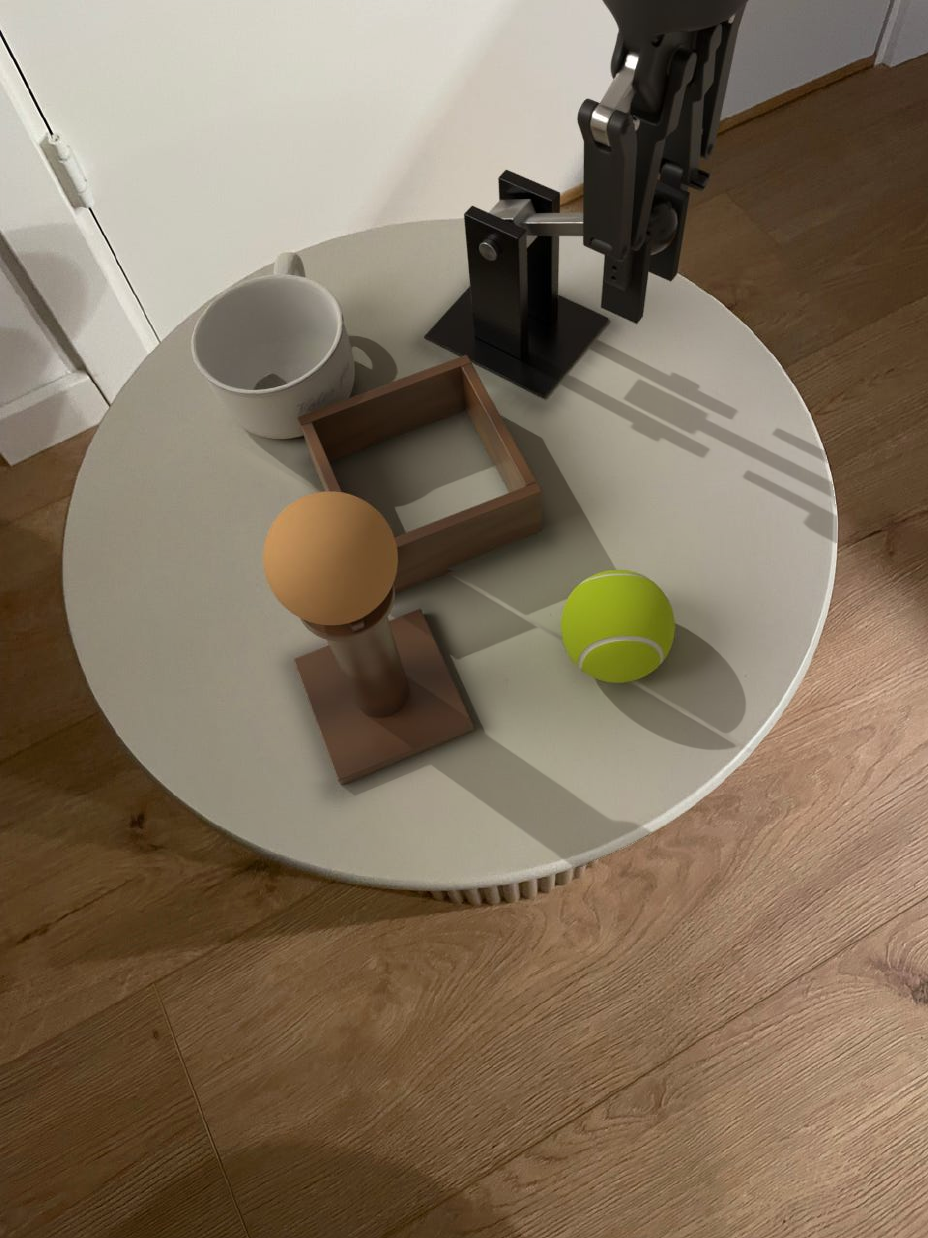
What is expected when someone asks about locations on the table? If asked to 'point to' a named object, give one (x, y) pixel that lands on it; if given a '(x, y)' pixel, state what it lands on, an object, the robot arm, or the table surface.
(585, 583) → the tennis ball
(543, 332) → the bracket
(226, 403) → the teacup
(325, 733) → the stand
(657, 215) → the lever
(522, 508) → the bin
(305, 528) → the cork ball
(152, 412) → the table surface
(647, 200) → the robot arm
